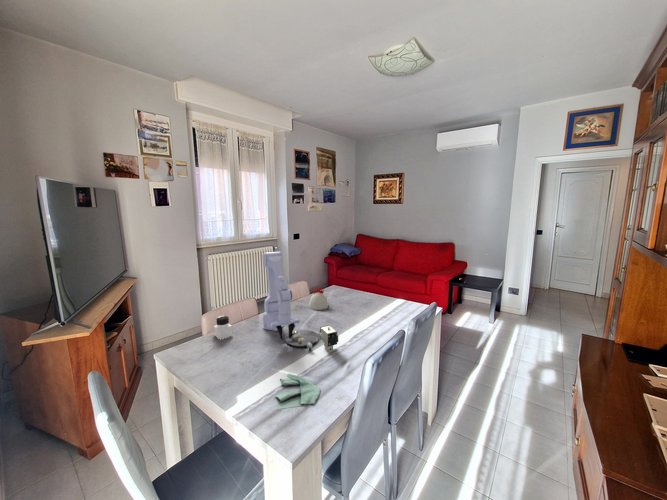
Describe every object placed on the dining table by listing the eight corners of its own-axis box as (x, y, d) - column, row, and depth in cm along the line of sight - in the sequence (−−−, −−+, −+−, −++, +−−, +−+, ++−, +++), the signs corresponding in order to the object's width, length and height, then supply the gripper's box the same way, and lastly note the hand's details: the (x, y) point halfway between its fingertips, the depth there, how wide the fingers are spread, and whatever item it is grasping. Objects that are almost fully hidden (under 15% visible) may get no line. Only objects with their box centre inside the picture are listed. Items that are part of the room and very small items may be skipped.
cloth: (321, 407, 98) (321, 401, 98) (258, 410, 96) (258, 404, 96) (319, 373, 118) (319, 368, 118) (267, 375, 116) (267, 370, 116)
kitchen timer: (327, 312, 188) (327, 290, 186) (307, 312, 188) (307, 290, 186) (328, 305, 202) (328, 285, 200) (309, 305, 202) (309, 285, 200)
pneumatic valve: (329, 357, 130) (329, 332, 128) (319, 346, 140) (319, 323, 138) (340, 354, 132) (340, 330, 131) (329, 344, 143) (329, 321, 141)
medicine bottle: (233, 338, 149) (232, 316, 148) (220, 342, 144) (218, 320, 142) (226, 334, 154) (225, 313, 152) (214, 338, 149) (212, 317, 147)
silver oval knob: (306, 350, 135) (306, 342, 135) (307, 348, 137) (307, 341, 136) (311, 351, 134) (311, 343, 134) (313, 349, 136) (313, 341, 135)
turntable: (279, 343, 141) (279, 335, 141) (295, 330, 157) (294, 323, 156) (310, 349, 135) (310, 341, 135) (323, 334, 151) (323, 327, 151)
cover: (289, 339, 143) (289, 332, 143) (293, 335, 148) (293, 328, 147) (298, 340, 142) (298, 334, 141) (302, 336, 146) (302, 330, 146)
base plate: (276, 345, 141) (276, 344, 141) (294, 330, 158) (294, 329, 158) (310, 352, 134) (310, 351, 134) (325, 335, 152) (325, 334, 152)
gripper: (272, 317, 134) (273, 344, 136) (301, 313, 140) (301, 338, 142) (269, 313, 140) (270, 338, 142) (297, 308, 146) (297, 333, 148)
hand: (285, 338), depth 142 cm, fingers open, 4 cm apart
